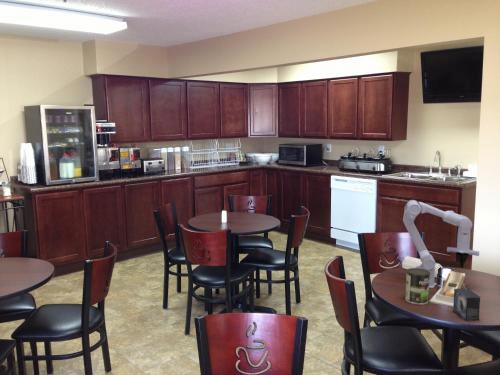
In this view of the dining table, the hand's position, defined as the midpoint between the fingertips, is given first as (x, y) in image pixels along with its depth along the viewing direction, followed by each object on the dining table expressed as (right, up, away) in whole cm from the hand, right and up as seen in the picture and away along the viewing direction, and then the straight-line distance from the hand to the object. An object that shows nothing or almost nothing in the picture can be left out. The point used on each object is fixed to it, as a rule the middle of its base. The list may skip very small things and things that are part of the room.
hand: (461, 267), depth 230 cm
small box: (-13, -15, -32) cm, 38 cm away
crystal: (-10, -7, +26) cm, 29 cm away
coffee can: (-28, -13, -15) cm, 34 cm away
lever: (-7, -9, -7) cm, 14 cm away
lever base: (-10, -12, -11) cm, 20 cm away
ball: (-13, -10, -16) cm, 23 cm away
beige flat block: (-14, -13, -15) cm, 24 cm away
